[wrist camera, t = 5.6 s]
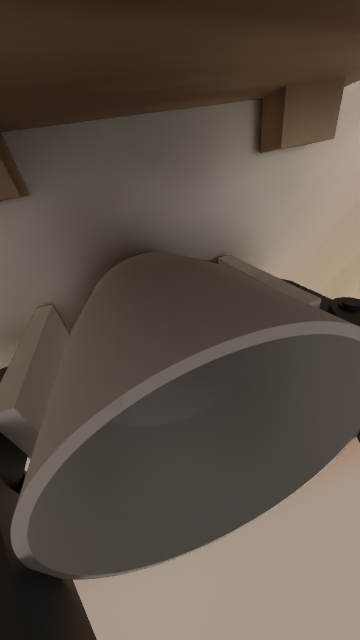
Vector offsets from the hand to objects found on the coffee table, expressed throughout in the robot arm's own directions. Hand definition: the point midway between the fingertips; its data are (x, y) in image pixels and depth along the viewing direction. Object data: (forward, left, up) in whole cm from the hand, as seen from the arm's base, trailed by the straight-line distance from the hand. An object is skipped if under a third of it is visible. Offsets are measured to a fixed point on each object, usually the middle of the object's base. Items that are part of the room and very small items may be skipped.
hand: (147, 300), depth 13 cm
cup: (0, 0, 0) cm, 0 cm away
